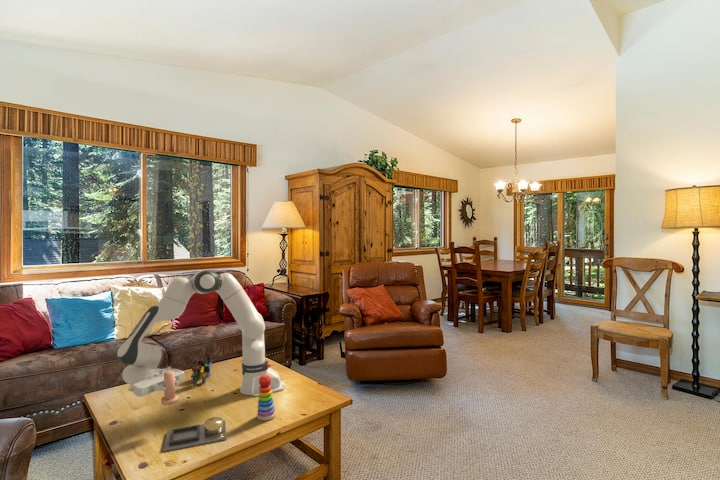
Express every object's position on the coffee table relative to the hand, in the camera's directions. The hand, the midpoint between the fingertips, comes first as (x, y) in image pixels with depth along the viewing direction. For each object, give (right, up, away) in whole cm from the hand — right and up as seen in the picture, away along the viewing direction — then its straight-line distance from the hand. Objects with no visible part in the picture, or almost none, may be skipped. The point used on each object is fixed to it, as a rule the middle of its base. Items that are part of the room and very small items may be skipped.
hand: (171, 386), depth 157 cm
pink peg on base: (-1, -7, +1) cm, 7 cm away
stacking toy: (+36, -18, +12) cm, 42 cm away
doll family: (-8, -17, +53) cm, 56 cm away
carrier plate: (+12, -19, -4) cm, 22 cm away
